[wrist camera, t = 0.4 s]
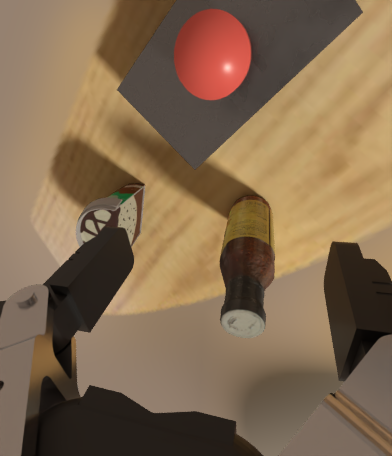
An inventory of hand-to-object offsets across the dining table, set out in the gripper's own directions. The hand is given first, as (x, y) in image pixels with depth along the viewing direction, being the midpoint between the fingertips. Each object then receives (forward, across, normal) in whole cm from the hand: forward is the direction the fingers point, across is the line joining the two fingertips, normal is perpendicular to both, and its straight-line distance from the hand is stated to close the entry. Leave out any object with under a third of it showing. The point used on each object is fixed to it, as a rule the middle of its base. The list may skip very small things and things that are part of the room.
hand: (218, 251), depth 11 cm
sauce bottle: (+28, +1, +14) cm, 31 cm away
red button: (+23, +4, -6) cm, 24 cm away
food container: (+27, +22, +13) cm, 37 cm away
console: (+28, +4, -6) cm, 28 cm away
